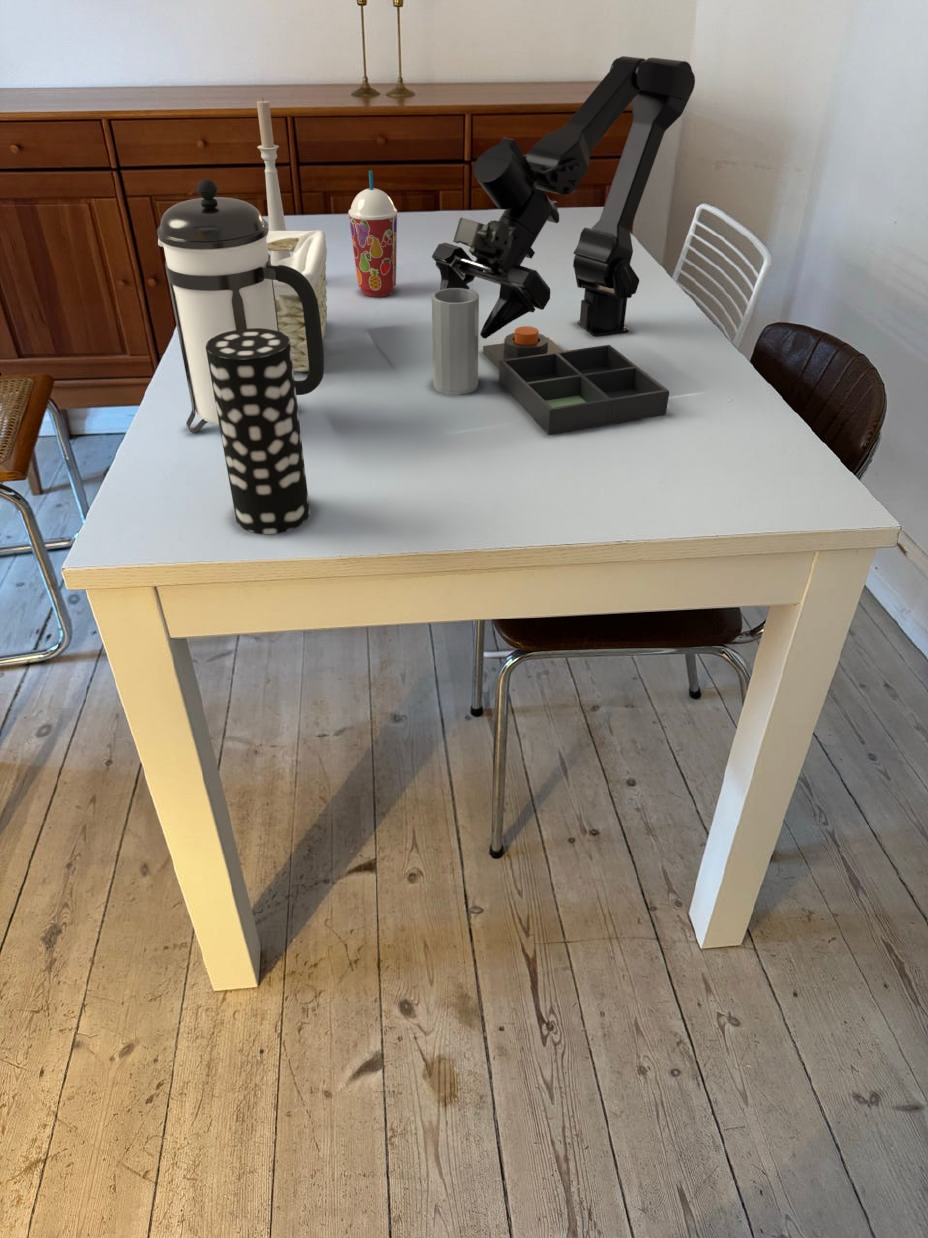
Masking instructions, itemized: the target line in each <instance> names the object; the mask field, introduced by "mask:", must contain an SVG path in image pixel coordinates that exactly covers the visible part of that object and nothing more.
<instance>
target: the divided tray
mask: <svg viewBox="0 0 928 1238" xmlns="http://www.w3.org/2000/svg"><path fill="white" fill-rule="evenodd" d="M498 371H499V372H498V384H499V385H500V386H501V387H502V388H503V389H504V390H505V391H506V392H507V393H508V394H509V395H510V396H511V397H512V398H513V399H514V400H515V401H516V402H517V403H518V405H520V406H521V408H522V409H524V410H525V412H526V413H527V414H529V415H530V417H531V418H532V419H533V420H534V421H535V423H536V424H537V425H538V426H539V427H540V428H541V429H542V430H543V431H544V432H545V433H546V434H547V435H554V434H560V433H567V432H573V431H577V430H584V429H591V428H597V427H603V426H609V425H614V424H621V423H627V422H632V421H639V420H644V419H650V418H657V417H662V416H667V412H668V411H667V410H668V403H669V399H670V398H669V397H670V390H669V389H668V388H667V387H665V386H664V385H663V384H662V383H660V382H659V381H657V380H656V379H654V378H653V377H652V376H651V375H649V374H648V373H647V372H645V371H644V370H643V369H642V368H640V366H638V365H636V363H634V362H633V361H632V360H630V359H628V358H627V357H626V356H625V355H624V354H622V353H621V352H620V351H618V350H617V349H616V348H614V347H613V346H612V345H610V344H605V345H599V346H598V345H597V346H591V347H582V348H576V349H570V350H564V351H561V352H555V353H547V354H540V355H533V356H526V357H519V358H512V359H505V360H500V361H499V369H498Z"/></svg>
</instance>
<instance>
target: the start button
mask: <svg viewBox="0 0 928 1238" xmlns="http://www.w3.org/2000/svg"><path fill="white" fill-rule="evenodd" d="M539 332H540V331H539V328H537V327H534V326H530V325H529V326H526V325H524V326H518V327H516V328H515V329H514V333H515V339H514V341H515V343H518V344H521V345H532V344H537V343H538V335H539V334H540V333H539Z"/></svg>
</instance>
